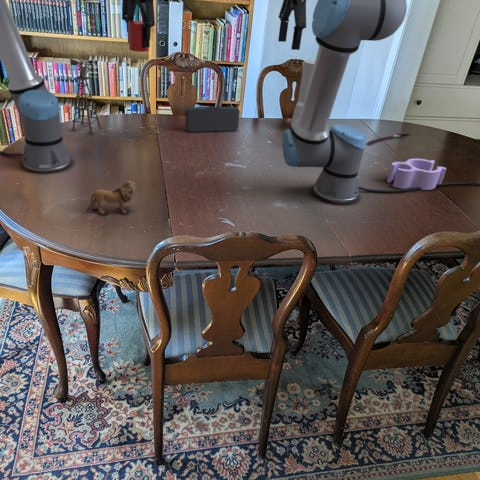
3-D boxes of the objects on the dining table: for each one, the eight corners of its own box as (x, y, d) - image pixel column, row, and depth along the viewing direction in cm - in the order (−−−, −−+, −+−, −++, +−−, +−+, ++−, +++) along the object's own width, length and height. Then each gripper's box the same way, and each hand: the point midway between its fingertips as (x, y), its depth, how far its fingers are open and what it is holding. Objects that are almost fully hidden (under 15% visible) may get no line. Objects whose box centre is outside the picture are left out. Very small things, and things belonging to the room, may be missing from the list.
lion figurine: (135, 203, 142) (134, 176, 137) (138, 212, 138) (137, 185, 133) (85, 208, 137) (82, 180, 132) (86, 217, 133) (83, 189, 128)
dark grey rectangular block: (236, 128, 206) (238, 106, 201) (238, 130, 204) (240, 108, 199) (185, 129, 199) (186, 106, 194) (186, 132, 197) (187, 108, 192)
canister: (145, 47, 171) (145, 20, 166) (151, 51, 166) (150, 24, 161) (127, 47, 168) (126, 20, 164) (131, 51, 163) (130, 23, 159)
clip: (400, 192, 166) (405, 174, 163) (380, 176, 176) (385, 159, 172) (445, 188, 173) (451, 171, 169) (424, 174, 182) (429, 157, 179)
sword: (406, 132, 223) (406, 130, 222) (411, 134, 221) (412, 132, 220) (362, 144, 207) (363, 141, 206) (368, 146, 205) (368, 143, 204)
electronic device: (303, 134, 208) (315, 64, 192) (289, 129, 211) (299, 60, 195) (315, 127, 218) (327, 60, 201) (300, 123, 221) (312, 56, 204)
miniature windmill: (91, 133, 186) (84, 54, 169) (71, 130, 187) (62, 51, 170) (101, 126, 193) (95, 50, 177) (82, 123, 194) (75, 47, 178)
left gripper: (166, -25, 152) (165, 49, 164) (126, -32, 161) (128, 39, 174) (148, -26, 147) (149, 51, 159) (108, -33, 156) (112, 40, 169)
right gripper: (275, -28, 162) (267, 37, 173) (301, -21, 142) (290, 52, 153) (295, -26, 164) (286, 38, 175) (323, -19, 144) (311, 53, 155)
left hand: (138, 44), depth 166 cm, fingers closed on canister, 7 cm apart
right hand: (288, 45), depth 164 cm, fingers open, 13 cm apart
